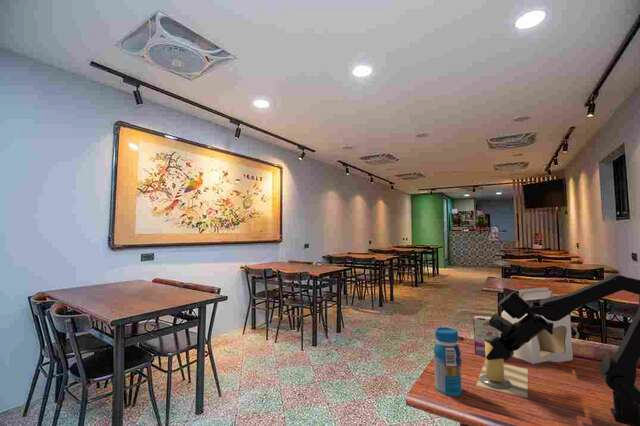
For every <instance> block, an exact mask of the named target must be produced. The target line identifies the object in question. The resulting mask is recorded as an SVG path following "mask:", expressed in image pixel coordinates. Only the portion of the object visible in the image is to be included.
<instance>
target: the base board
mask: <svg viewBox="0 0 640 426" xmlns="http://www.w3.org/2000/svg"><path fill="white" fill-rule="evenodd" d="M482 375H487V373H486V360H484V362H483V365H482V367H481V371H480V374H479V376H478V379H477V382H476V384H475V386H476V387H477V388H483V389H486V390H492V391H495V392H499V393H503V394H508V395H513V396H517V397H521V398H525V399H528V389H529V388H528V387H529V384H528V383H529V381H528V379H529V378H528V377H529V369H528V368H524V367H519V366H515V365H509V364H504V378H506V379H507V380H509V381H510V382H511V387H510V388H508V389H496V388H492V387H489V386H486V385H484V384H483V383H482V382H481V381H480V376H482Z"/></svg>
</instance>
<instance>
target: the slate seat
mask: <svg viewBox="0 0 640 426" xmlns="http://www.w3.org/2000/svg"><path fill="white" fill-rule="evenodd" d="M479 376H480V375H479ZM480 381H481V382H482V383H483V384H484V385H486V386H489V387H492V388H496V389H508V388H510V387H511V382H510V381H509V380H507V379H506V378H505V380H504V381H502V382H497V381H492V380H490V379H488V378H487V375H482V376H480Z"/></svg>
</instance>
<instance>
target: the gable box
mask: <svg viewBox="0 0 640 426" xmlns="http://www.w3.org/2000/svg"><path fill="white" fill-rule="evenodd" d="M552 292H553V290H549V287H548V286H547V287H546V286H543V287H531V288H530V287H529V288H521V289H518V293H517V294H518V295H519V296H520V297H521V298H522V299H524V300H525V301H526V302H527V301H533V300H534V301H535V300H543V299H545V298H549V297H553V296H554V293H552ZM526 315H527V314H525V315H524V316H523V317H522V318H524V317H525V316H526ZM500 316H501V317H502V318H504V319H506V320H508V321H509V322H511V323H512V324H514V323H515V322H518V321H520V320H521V319H522V318H520V319H517V318H514V319H513V318H512V317H511V316H510V315H509V314H507V313H506V312H505V311H504V310H503V311H502V312H501V315H500ZM537 316H538V315H537ZM540 316H541V315H540ZM541 317H542V318H544V317H543V316H541ZM544 319H545V320H546V321H547V322H550V323H553V334H550V333H549V332H548V331H546V330H543V331H542V332H541V333H539V334H538V335H537V336H535V337H534V338H532V339H531V340H530V341H529V342H528V343H525V344H524V345H523V346H521V347H520V348H519V349H518V350H516V351H514V355H513V356H512V357H515V358H517V359H520V360H523V361H525V362H528V363H530V364H533V365H535V364H539V363H545V362H553V363H554V362H555V363H564V362H569V361H573V359H574V356H573V354H574V353H573V340H572V339H573V338H572V326H571V321H572V320H571V315H570V314H569V315H567V316H566V317H564V318H562V319H561V320H559V321H550V320H547V319H546V318H544Z"/></svg>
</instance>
